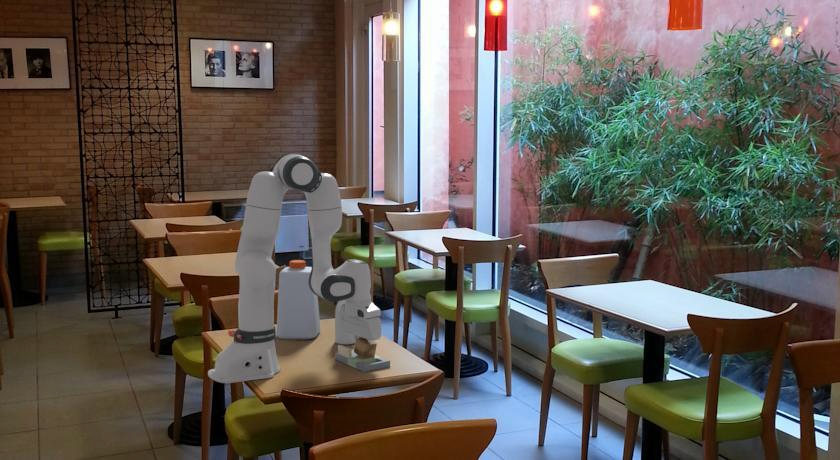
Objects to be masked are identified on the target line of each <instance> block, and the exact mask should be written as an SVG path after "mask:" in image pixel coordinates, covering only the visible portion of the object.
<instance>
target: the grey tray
mask: <svg viewBox="0 0 840 460" xmlns="http://www.w3.org/2000/svg"><path fill="white" fill-rule="evenodd" d="M334 360H336V361H339V362H341V363H343V364H346V365H347V366H350V367H352V368H354V369H357V370H358V371H361V372H364V373H366V372H371V370H372V371H376V370H380V369H381V370H382V369H385V367H386V368H390V367H391V360H389V359H386V358H385V357H381V356H379V355H377V354H375V357H371V358H366V359H361V358H360V357H359V356H358V355H357V354H356V353H355V352H354V349H352V348H351V347H348V346H345V345H342V344H337V352H336V353H334Z"/></svg>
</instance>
